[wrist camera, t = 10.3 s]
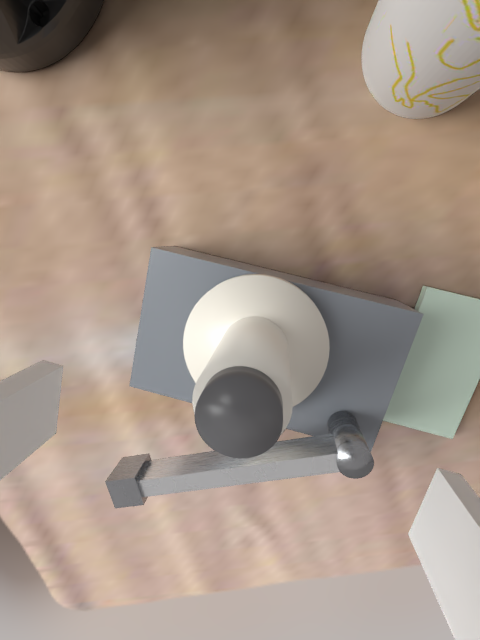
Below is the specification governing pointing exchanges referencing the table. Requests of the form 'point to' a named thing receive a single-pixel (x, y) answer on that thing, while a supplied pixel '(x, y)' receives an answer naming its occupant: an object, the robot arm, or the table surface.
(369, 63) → the cup
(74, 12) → the robot arm
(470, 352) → the mat
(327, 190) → the table surface
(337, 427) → the record player tonearm
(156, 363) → the socket block
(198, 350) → the plug
